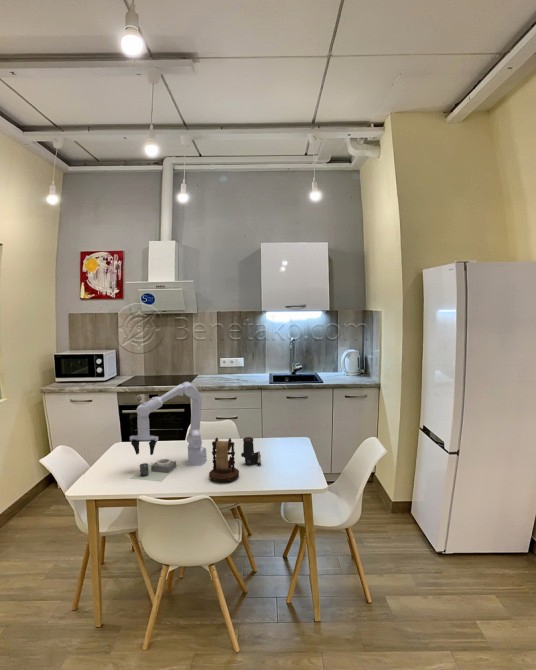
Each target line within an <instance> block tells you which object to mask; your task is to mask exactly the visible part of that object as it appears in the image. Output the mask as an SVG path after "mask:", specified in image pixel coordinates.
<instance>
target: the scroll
mask: <svg viewBox="0 0 536 670" xmlns="http://www.w3.org/2000/svg"><path fill="white" fill-rule="evenodd" d="M211 446H212V452H211V454H212V456H213V457H212V465H213V466H212V469H211V470H210V471H209V473H208V478H210V480H211V482H213V481H217V482H226V481H229V482H230V483H232V481H233V480H234V479H236V478H238V477H239V475H240V470H239V469H238V468H236V467H235V465H236V461H235V454H236V451H235V442H234V441H232V438H231V437H229V438H228V440H219V438H218V437H216V438H215V439H214V441H212V442H211ZM230 455H231V456H230Z"/></svg>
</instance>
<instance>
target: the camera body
mask: <svg viewBox="0 0 536 670" xmlns="http://www.w3.org/2000/svg"><path fill="white" fill-rule="evenodd" d="M153 463H154V464H153V465H152V466H151V471H152V472H163V473H170V472H171V471H172V470H173V469H175V468H176V465H177V461H175V460H171V459H170V458H161V459H159V460H156V462H153ZM175 470H176V469H175Z"/></svg>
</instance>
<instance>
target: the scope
mask: <svg viewBox="0 0 536 670" xmlns="http://www.w3.org/2000/svg"><path fill="white" fill-rule="evenodd" d="M242 442H243V451H242V452H241V453H240V454H241V457H242V458H244V465H245V466H254V465H255V466H256V465H257V466H261V465H262V459H261V451H256V452H255V449H254V438H253V437H251V436H246V437H243V439H242Z"/></svg>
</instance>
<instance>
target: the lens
mask: <svg viewBox="0 0 536 670" xmlns="http://www.w3.org/2000/svg"><path fill="white" fill-rule="evenodd" d="M148 465H149V463H146V462H145V463H140V464H139V472H140V476H141V477H146V476H148V475H149V473H148Z"/></svg>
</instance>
